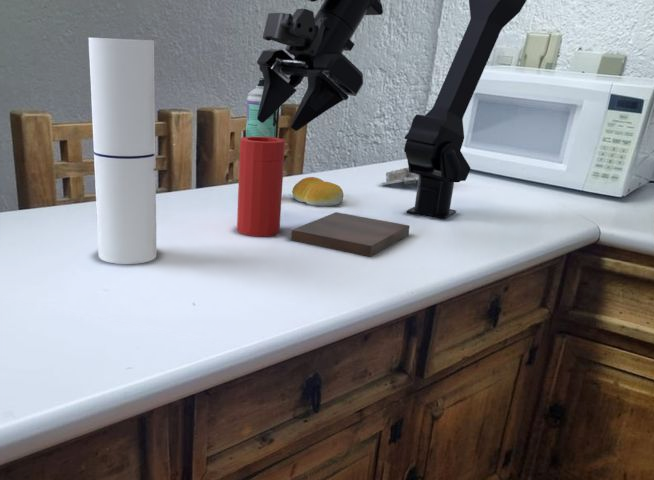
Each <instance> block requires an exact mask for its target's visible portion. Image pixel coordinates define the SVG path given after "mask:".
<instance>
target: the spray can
mask: <svg viewBox="0 0 654 480" xmlns="http://www.w3.org/2000/svg"><path fill="white" fill-rule="evenodd" d="M258 79H259V80H258V83H257V85H255V88H254V89H252V90H251V91H250V92H248V93H247V95H248V96H247V97H246V119H245V121H246V122H245V137H253V136H257V137H274V138H279V137H278V136H279V123H280V122H279V121H280V120H279V119H280V107H279V108H278V109H277V110H276V111H275V112H274V113H273V114H272V115H271V116H270V117H269V118H268V119H267V120H266V121H265V122H264V123H261V122H260V121H258V120H257V115H258V111H259V107H260V102H261V98H262V94H263V89H264V77H260V78H258Z"/></svg>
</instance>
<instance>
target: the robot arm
mask: <svg viewBox="0 0 654 480" xmlns="http://www.w3.org/2000/svg"><path fill="white" fill-rule="evenodd" d="M308 1H309V2H311V3H313V2H316V1H318V0H308ZM527 1H528V0H468V5H469V16H470V19H469V22H468V24H467V27H466V29H465V31H464V34H463V36H462V38H461V41H460V43H459V46H458V48H457V49H456V52H455V55H454V58H453V59H452V62H451V65H450V67H449V69H448V72H447V74H446V76H445V79H444V81H443V83H442V86H441V88H440V90H439V92H438V94H437V97H436V100H435V102H434V104H433V106H432V108H431V109H430V110H429V111H428V112H427V113H426V114H423V115H422V114H415V115H414V117H413V118H412V122H411V124H410V127H409V130H408V132H407V133H406V135H405V136H404V140H406V141H405V144H404V149H403V152H404V153H405V157H406V160H407V166H408V167H409V172H410V173H415V174H418V175H419V180H418V185H417V188H416V193H415V194H416V195H415V202H414V206H413V207H411V208H408V209H407V210H406V213H407V214H410V215H416V216H421V217H427V218H433V219H438V220H446V219H448V218H450V217H452V216H453V215H455V214H456V213H457V210H456V209H452V208H451V204H452V198H453V192H454V186H455V183H460V182H466V180H468V179H467V178H468V176H469V173H471V172H470V171H471V166H470V164H469V163H468V161H467V160H466V158H465V156H464V154H463V153H462V151H461V150H462V147H463V143H464V140H465V130H464V129H465V128H464V116H465V114H466V112H467V109H468V107H469V105H470V102H471V100H472V98H473V95H474V93H475V91H476V89H477V86H478V85H479V82H480V79H481V77H482V75H483V72H484V70H485V68H486V66H487V63H488V61H489V59H490V57H491V54H492V52H493V49H494V47H495V45H496V43H497V41H498V38H499V36H500V34H501V32H502V31H503V29H504V27H505V26H507V25H508V24H509V23H510V22H511V21H512V20H513V19H514V18H516V16H517V15H518V14H520V13H521V11H522V9H523V7H524V6H525V5H526V2H527ZM383 13H384V8H383V4H382V2H381V0H323V2H322V4H321V5H320V7H319V9H318V11H317V12H316V14H314V11H312V10H310V9H308V8H296V9H295V11H294V12H293V14H292V13H285V12H269V13H267V16H266V22H265V26H264V30H263V34H262V39H263V40H265V41H268V42H269V41H273V42H276V43H279V44H282V45H284V46H286V47H285V49H280V48H279V49H278V48H269V49H264V50H262V52H261V53H260V55H259V57H258V59H257V61H256V64H257V65H258V66H259V71H260V73H261V74H262V76H263V77H262V78H264V89H263V94H262V98H261V102H260V107H259V111H258V115H257V120H258V121H260V122H261V123H264V122H265V121H266V120H267V119H268V118H269V117H270V116H271V115H272V114H273V113H274V112H275V111H276V110H277V109H278V108H279V109H280V108H281V107H282V106H283V105H284V104H285V103H286V102H287V101H288V100H289V99H290V98H291V97H292V96H293V95H294V94H296V92H297V89H296V87H298V86H299V85H301V83H302V81H303V80H304V78H307V89H306V90H305V93H304V95H303V97H302V99H301V101H300V103H299V105H298V108H297V110H296V112H295V114H294V116H293V118H292V121H291V123H290V128H291V129H292V130H293V131H294V132H297V131H299V130H300V129H302V128H304V127H305V126H306V125H308V124H310V123H311V122H312V121H314V120H315V119H316V118H318V117H319V116H321V115H322V114H323V113H325V112H327V111H328V110H330V109H331V108H333V107H335V106H336V105H338V104H340V103H341V102H343V101H347V100H348V99H349V98H350V97H349V96H351V97H357V96H358V94H359V92H360V90H361V89H362V87H363V85H364V73H363V72H362V71H361V70H360V69H359V68H358V67H357V66H356V65H355V64H354V63H353V62H352V61H351V60H350V59H349V58H348V57H346V56H345V55H344V54H343V53H344V51H346V52H347V51H348V52H349V51H350V52H352V50H353V48H354V46H355V43H354V42H353V41H352V38H353V36H354V34H356V33H355V32H356V31H357V29H358V28H359V26H360V24H361V23H362V21H363V19H364V17H365V16H381V15H383ZM289 54H290V55H292V56H293V57H294V58H293V57H291V56H290V55H289ZM408 167H407V168H408Z"/></svg>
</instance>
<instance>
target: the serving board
mask: <svg viewBox="0 0 654 480" xmlns="http://www.w3.org/2000/svg"><path fill="white" fill-rule="evenodd" d="M409 232H410V225H409V224H404V223H399V222H392V221H387V220H381V219H377V218H370V217H365V216H360V215H353V214H349V213H343V212H338V211H336V212H333V213H331V214H328V215H325V216H323V217H320V218H318V219H315V220H312V221H310V222H307V223H304V224H303V225H299V226H297V227H294V228H292V229H291V231H290V241H295V242H299V243H304V244H309V245H313V246H318V247H322V248H327V249H331V250H337V251H341V252H346V253H351V254H354V255H360V256H363V257H369V258H371V257H373V256H374V255H376V254H378V253H379V252H382V251H383V250H385V249H386V248H388V247H390V246H392V245H393V244H395V243H397V242H399V241H401V240H403V239H404V238H406V237H409Z"/></svg>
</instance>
